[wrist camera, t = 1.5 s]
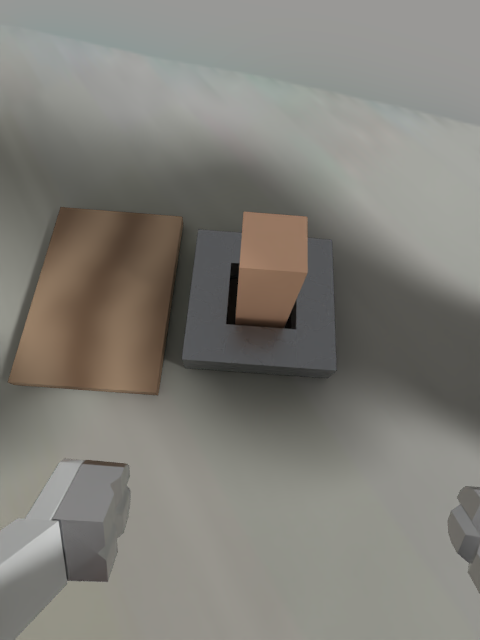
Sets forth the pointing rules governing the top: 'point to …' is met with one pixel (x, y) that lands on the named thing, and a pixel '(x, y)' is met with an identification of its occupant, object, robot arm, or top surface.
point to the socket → (251, 341)
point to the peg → (270, 268)
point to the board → (101, 303)
